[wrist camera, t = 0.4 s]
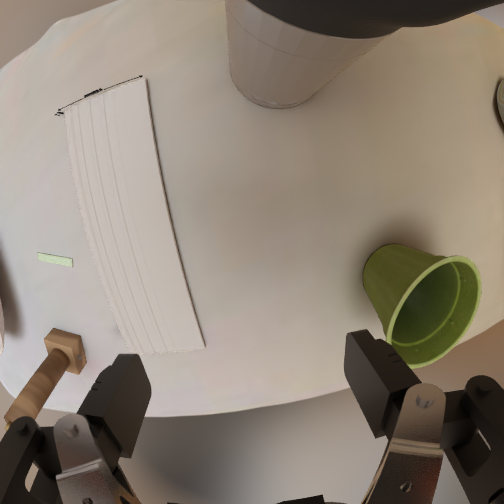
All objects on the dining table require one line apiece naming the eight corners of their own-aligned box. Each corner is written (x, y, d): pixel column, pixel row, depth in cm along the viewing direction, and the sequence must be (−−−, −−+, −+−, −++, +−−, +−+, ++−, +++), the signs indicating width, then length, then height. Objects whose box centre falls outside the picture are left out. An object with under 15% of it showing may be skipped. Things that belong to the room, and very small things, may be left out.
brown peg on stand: (53, 328, 31) (-13, 410, 14) (82, 336, 32) (19, 430, 15) (60, 354, 33) (5, 436, 16) (88, 363, 33) (37, 455, 16)
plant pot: (332, 312, 32) (367, 373, 21) (358, 215, 29) (417, 245, 18) (407, 316, 33) (451, 365, 23) (435, 234, 30) (495, 264, 19)
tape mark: (38, 252, 28) (37, 253, 28) (72, 258, 28) (71, 259, 28) (38, 259, 28) (38, 260, 28) (72, 266, 29) (72, 266, 29)
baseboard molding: (123, 349, 33) (206, 341, 33) (116, 362, 31) (204, 355, 31) (59, 116, 24) (149, 80, 24) (45, 114, 21) (140, 73, 21)
